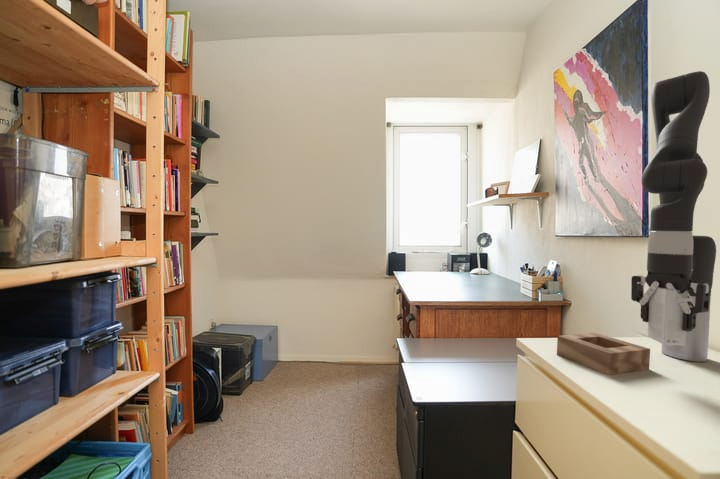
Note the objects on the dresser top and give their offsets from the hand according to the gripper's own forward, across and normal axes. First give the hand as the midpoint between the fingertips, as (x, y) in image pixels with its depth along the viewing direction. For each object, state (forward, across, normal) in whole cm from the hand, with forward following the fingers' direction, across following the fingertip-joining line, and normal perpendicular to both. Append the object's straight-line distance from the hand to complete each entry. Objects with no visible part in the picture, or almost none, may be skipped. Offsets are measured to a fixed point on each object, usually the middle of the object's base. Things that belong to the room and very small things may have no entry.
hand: (666, 325), depth 78 cm
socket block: (+13, +13, +2) cm, 18 cm away
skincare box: (+4, 0, 0) cm, 4 cm away
